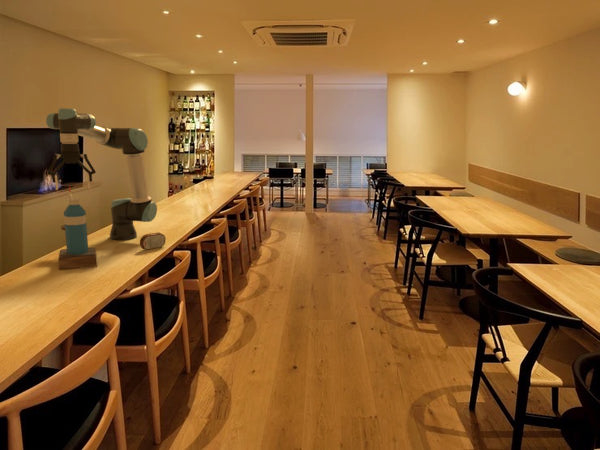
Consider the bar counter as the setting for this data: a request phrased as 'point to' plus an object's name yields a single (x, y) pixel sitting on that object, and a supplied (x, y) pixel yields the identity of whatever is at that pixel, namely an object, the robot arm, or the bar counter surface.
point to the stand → (77, 259)
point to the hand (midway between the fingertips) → (73, 189)
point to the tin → (152, 241)
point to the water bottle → (75, 228)
